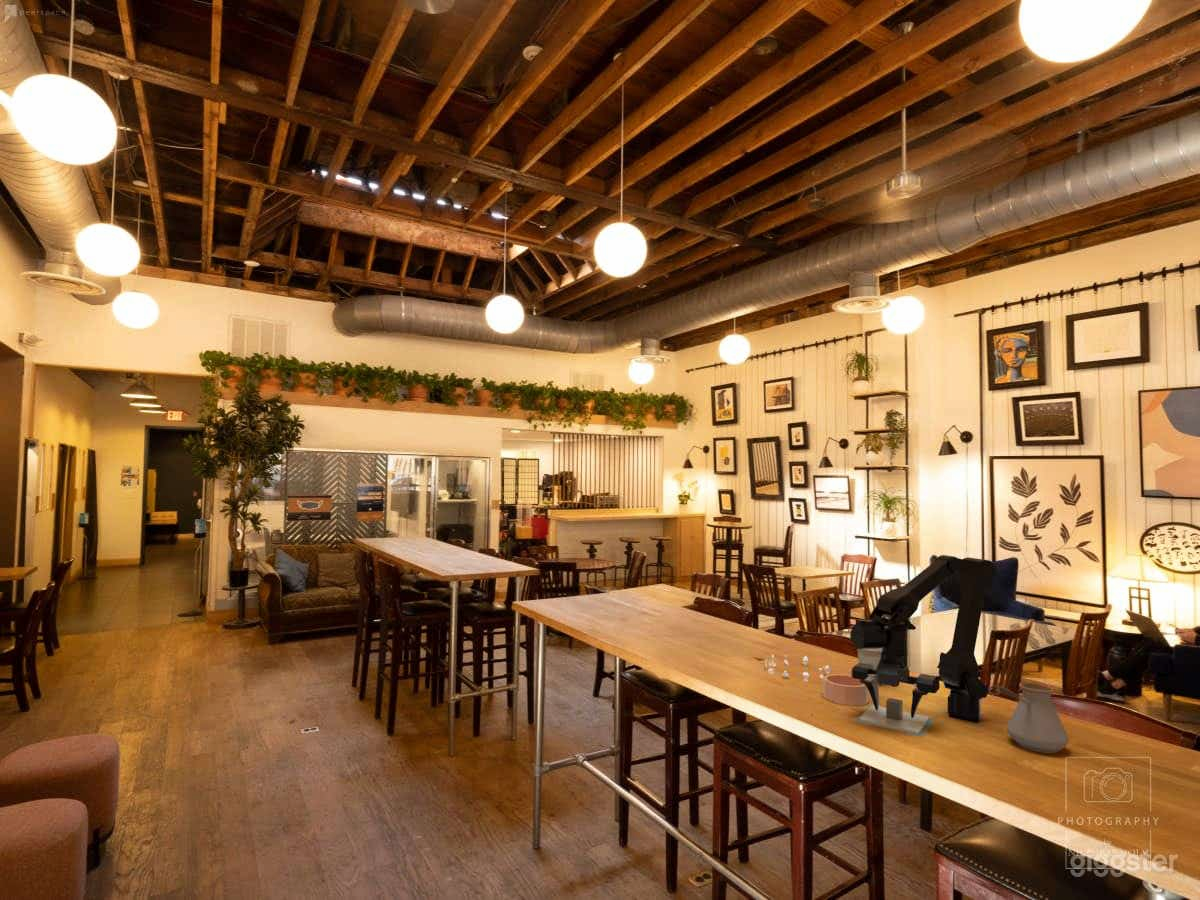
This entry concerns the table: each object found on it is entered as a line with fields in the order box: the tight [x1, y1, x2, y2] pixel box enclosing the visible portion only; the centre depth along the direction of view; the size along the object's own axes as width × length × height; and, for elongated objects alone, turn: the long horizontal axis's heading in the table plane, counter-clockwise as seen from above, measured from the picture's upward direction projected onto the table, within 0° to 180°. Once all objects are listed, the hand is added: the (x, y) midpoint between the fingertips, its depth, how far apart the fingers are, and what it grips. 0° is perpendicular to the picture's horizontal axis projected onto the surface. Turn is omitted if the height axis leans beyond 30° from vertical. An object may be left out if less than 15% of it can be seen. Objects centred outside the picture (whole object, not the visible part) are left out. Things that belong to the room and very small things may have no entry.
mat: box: [853, 705, 936, 738], centre depth 155 cm, size 15×15×1 cm
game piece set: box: [764, 654, 831, 682], centre depth 197 cm, size 19×20×4 cm
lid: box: [859, 697, 931, 735], centre depth 155 cm, size 13×13×5 cm
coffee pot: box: [988, 682, 1070, 754], centre depth 141 cm, size 21×12×15 cm, turn 117°
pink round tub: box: [822, 673, 870, 707], centre depth 171 cm, size 11×11×5 cm
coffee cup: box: [856, 648, 882, 687], centre depth 188 cm, size 8×8×12 cm
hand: (894, 713), depth 155 cm, fingers open, 8 cm apart
